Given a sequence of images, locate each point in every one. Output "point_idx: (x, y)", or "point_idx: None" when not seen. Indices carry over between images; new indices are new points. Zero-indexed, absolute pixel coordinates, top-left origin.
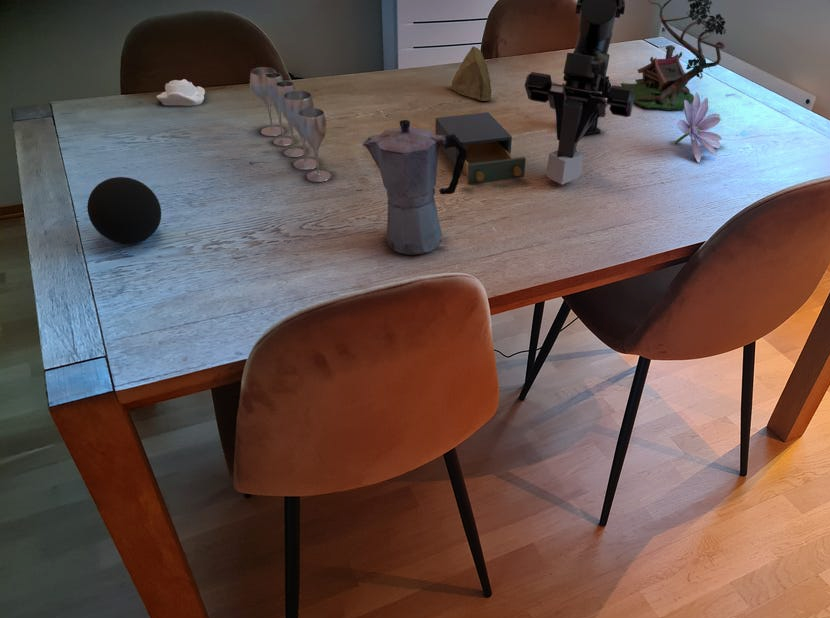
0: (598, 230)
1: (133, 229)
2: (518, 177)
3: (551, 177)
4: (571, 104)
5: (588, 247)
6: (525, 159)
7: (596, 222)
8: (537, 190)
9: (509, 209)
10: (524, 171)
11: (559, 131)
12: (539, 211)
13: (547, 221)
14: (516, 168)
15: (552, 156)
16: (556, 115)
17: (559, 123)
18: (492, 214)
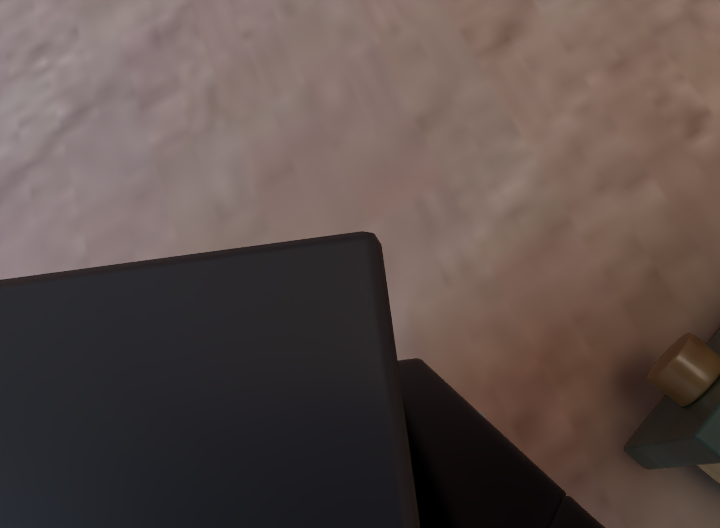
0: (32, 165)
1: None
2: (662, 410)
3: None
4: (151, 404)
5: (51, 13)
6: (692, 433)
7: (56, 233)
8: (493, 410)
9: (527, 119)
10: (651, 443)
11: (412, 396)
12: (374, 181)
13: (298, 113)
14: (695, 345)
15: None
16: (585, 514)
17: (455, 445)
18: (576, 35)
